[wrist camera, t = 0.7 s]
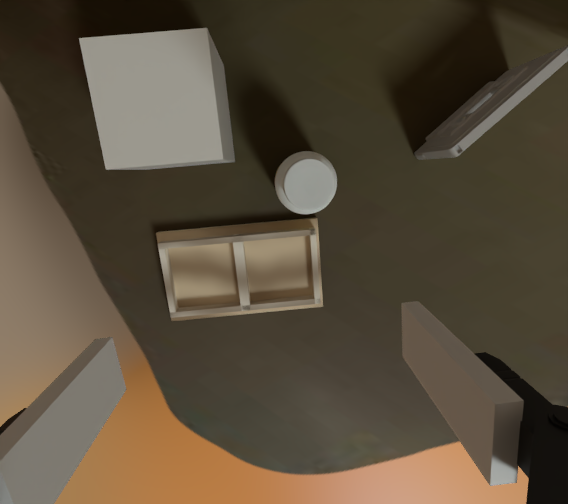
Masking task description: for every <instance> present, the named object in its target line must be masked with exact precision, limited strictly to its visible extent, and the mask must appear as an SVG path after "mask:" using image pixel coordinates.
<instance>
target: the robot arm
mask: <svg viewBox="0 0 568 504" xmlns="http://www.w3.org/2000/svg"><path fill="white" fill-rule="evenodd" d="M402 351H403V358H404V359H405V361H406V362H407V364H408V365H409V367H410V368H411V370H412V371H413V373H414V374H415V376H416V377H417V379H418V380H419V382H420V383H421V385H422V386H423V388H424V389H425V390H426V392H427V393H428V395H429V396H430V398H431V399H432V401H433V402H434V404H435V405H436V407H437V408H438V410H439V411H440V413H441V414H442V416H443V417H444V418H445V420H446V421H447V423H448V424H449V426H450V427H451V429H452V430H453V432H454V433H455V435H456V436H457V438H458V439H459V441H460V442H461V444H462V445H463V446H464V448H465V449H466V451H467V452H468V454H469V455H470V457H471V458H472V460H473V461H474V463H475V464H476V466H477V467H478V469H479V470H480V472H481V473H482V475H483V476H484V477H485V479H486V480H487V482H488V483H489V485H490V486H493V485H501V484H509V483H516V482H517V473H518V466H519V467H520V468H521V469H522V471H523V472H524V473H525V474H526V475H527V476H528V478H529V483H528V493H527V502H526V504H568V407H564V406H559V405H552V404H551V403H550V402H549V401H548V400H547V399H545V398H544V397H543V396H542V395H541V394H540V393H538V392H537V391H536V390H535V389H534V388H533V387H531V386H530V385H529V384H528V383H527V382H526V381H524V380H523V379H521V378H520V376H519V375H517V374H516V373H515V372H514V371H511V369H510V368H509V367H508V366H507V365H506V364H505V363H504V362H502V361H501V360H500V359H498V358H496V357H494V356H492V355H490V354H488V353H486V352H484V353H476V354H474V353H473V352H472V351H471V350H469V349H468V348H467V347H466V346H465V345H464V344H463V343H462V342H461V341H460V340H459V339H458V338H457V337H456V336H455V335H454V334H453V333H451V332H450V331H449V330H448V329H447V328H446V327H445V326H444V325H443V324H442V323H441V322H440V321H439V320H438V319H437V318H436V317H434V316H433V315H432V314H431V313H430V312H429V311H428V310H427V309H426V308H425V307H424V306H423V305H422V304H421V303H420V302H419V301H415V302H407V303H402ZM125 391H126V387H125V383H124V379H123V375H122V372H121V368H120V364H119V360H118V356H117V353H116V349H115V345H114V342H113V338H112V337H109V338H100V339H95V340H94V341H93V342H92V343H91V344H90V345H89V346H88V347H87V348H86V349H85V350H84V351H83V352H82V353H81V354H80V355H79V356H78V357H77V358H76V359H75V360H74V361H73V362H72V363H71V364H70V365H69V366H68V367H67V368H66V369H65V370H64V371H63V372H62V373H61V374H60V375H59V376H58V377H57V378H56V379H55V380H54V382H52V383H51V384H50V386H49V387H47V388H46V390H44V391H43V392H42V394H41V395H40V396H39V397H38V398H37V399H36V400H35V401H34V402H33V403H32V404H31V405H30V406H29V407H28V408H24V409H23V410H21V411H20V412H18V413H17V414H15V415H14V416H12V417H11V418H10V419H8V420H7V421H6V422H5V423H4V424H3V425H2V426H1V427H0V504H54V503H55V501H56V500H57V498H58V497H59V495H60V493H61V492H62V490H63V489H64V487H65V486H66V484H67V482H68V481H69V479H70V478H71V476H72V475H73V473H74V471H75V470H76V468H77V467H78V465H79V463H80V462H81V460H82V459H83V457H84V456H85V454H86V452H87V451H88V449H89V448H90V446H91V445H92V443H93V441H94V440H95V438H96V437H97V435H98V433H99V432H100V430H101V429H102V427H103V426H104V424H105V422H106V421H107V419H108V418H109V416H110V415H111V413H112V411H113V410H114V408H115V407H116V405H117V404H118V402H119V400H120V399H121V397H122V396H123V394H124V392H125Z"/></svg>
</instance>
